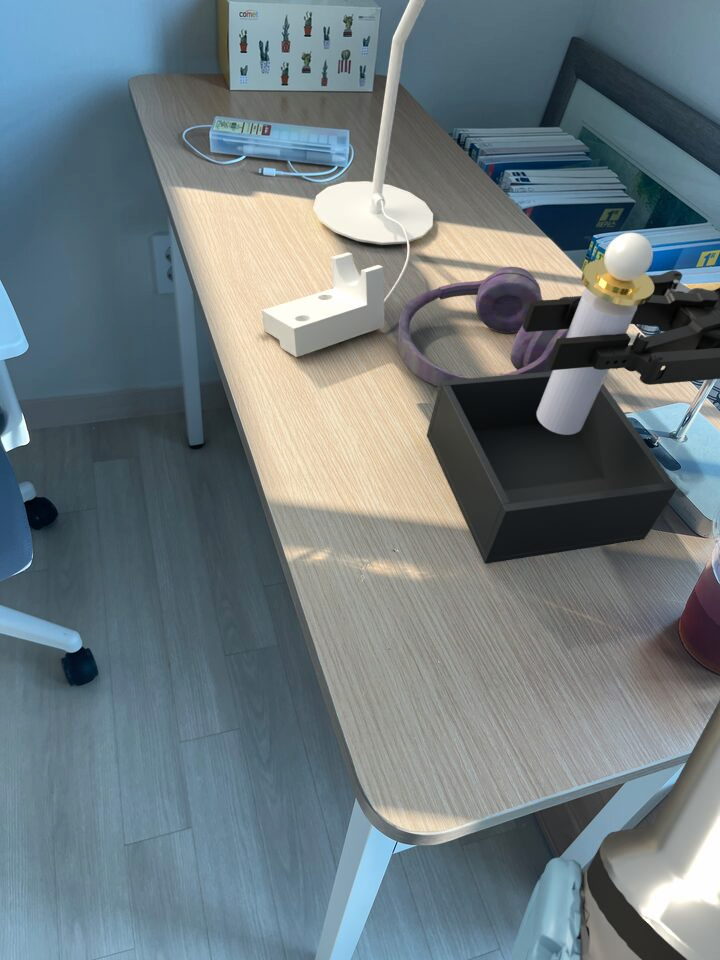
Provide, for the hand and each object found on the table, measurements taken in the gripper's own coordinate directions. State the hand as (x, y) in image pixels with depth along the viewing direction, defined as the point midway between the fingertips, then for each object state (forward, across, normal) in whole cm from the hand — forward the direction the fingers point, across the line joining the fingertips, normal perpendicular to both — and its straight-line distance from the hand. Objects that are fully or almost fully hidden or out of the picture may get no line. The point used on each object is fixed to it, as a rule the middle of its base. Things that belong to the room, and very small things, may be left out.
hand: (541, 335), depth 63 cm
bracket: (+11, +29, -20) cm, 37 cm away
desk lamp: (-3, +47, -20) cm, 51 cm away
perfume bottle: (-5, 0, -11) cm, 12 cm away
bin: (-5, 0, -20) cm, 20 cm away
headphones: (-7, +22, -20) cm, 31 cm away
